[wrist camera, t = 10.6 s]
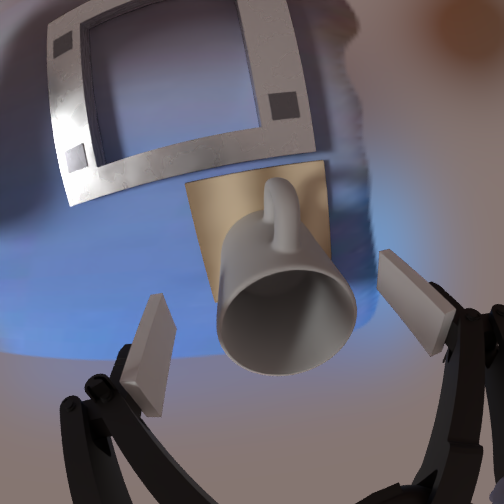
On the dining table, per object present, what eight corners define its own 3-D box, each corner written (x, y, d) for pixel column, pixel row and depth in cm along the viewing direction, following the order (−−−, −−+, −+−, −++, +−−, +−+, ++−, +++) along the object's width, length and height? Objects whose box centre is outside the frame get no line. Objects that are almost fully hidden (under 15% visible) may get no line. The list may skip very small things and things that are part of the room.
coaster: (215, 299, 28) (214, 302, 27) (185, 182, 23) (184, 183, 22) (330, 278, 27) (331, 280, 27) (321, 159, 23) (323, 160, 22)
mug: (309, 289, 27) (345, 369, 17) (224, 295, 27) (222, 381, 17) (316, 168, 22) (378, 195, 12) (215, 170, 22) (200, 197, 12)
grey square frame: (80, 201, 22) (69, 207, 20) (57, 28, 14) (47, 24, 12) (309, 150, 22) (316, 151, 20) (270, -33, 14) (272, -44, 12)
